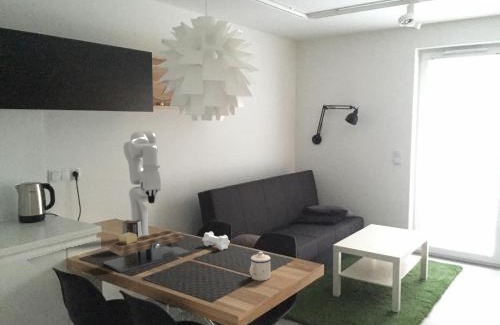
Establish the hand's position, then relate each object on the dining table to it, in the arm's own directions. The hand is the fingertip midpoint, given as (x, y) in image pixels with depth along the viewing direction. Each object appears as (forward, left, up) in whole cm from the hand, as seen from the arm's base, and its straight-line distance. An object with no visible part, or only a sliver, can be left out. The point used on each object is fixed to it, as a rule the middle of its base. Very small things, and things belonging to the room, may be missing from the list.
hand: (151, 202), depth 214 cm
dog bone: (+14, +31, -29) cm, 45 cm away
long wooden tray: (+3, -5, -24) cm, 25 cm away
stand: (+3, -5, -28) cm, 29 cm away
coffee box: (-17, -3, -28) cm, 33 cm away
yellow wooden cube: (+3, -16, -19) cm, 25 cm away
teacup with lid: (+64, +15, -28) cm, 72 cm away
